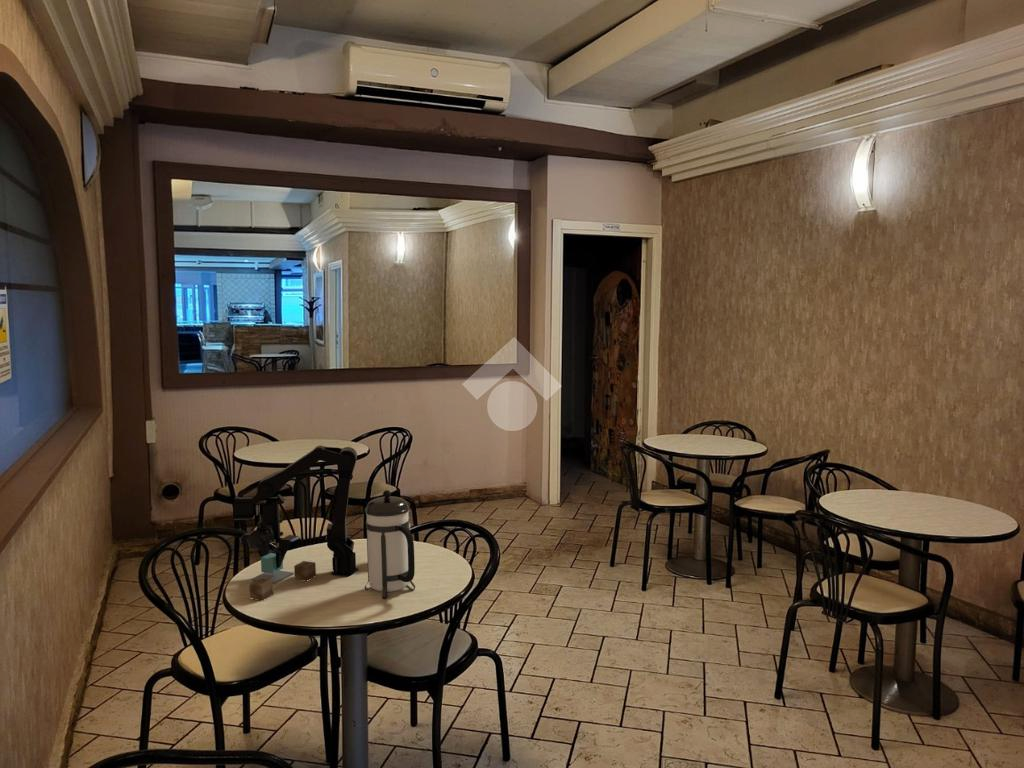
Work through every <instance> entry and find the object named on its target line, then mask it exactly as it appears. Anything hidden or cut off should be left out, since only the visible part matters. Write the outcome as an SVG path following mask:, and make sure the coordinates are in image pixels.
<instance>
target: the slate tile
mask: <svg viewBox="0 0 1024 768" xmlns="http://www.w3.org/2000/svg"><path fill="white" fill-rule="evenodd" d="M293 575H295V572H294V571H293V572H292V571H284V570H279V571H277V572H276V573H274V574H273V573H266V572H261V573H260V574H258V575H257V576H255V577H253V578H251V579H250V582H254V581H256V580H258V579H267V580H272V583H273V585H276V584H277V585H278V583H280V582H282V581H284V580H286V579H287V578H289V577H291V576H293Z"/></svg>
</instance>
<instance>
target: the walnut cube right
mask: <svg viewBox="0 0 1024 768" xmlns="http://www.w3.org/2000/svg"><path fill="white" fill-rule="evenodd" d="M316 566H317V565H316V562H313V561H307V560H303V561H300V562H298V563H296V564H295V565H293V567H294V571H293V572H294V580H295V581H300V580H305V581H304V582H308V581H307V580H309V579H311V578H312V579H314V578H315V577H314V576H316V577H317V572H316V571H317V568H316ZM313 577H314V578H313ZM312 579H311V580H312ZM309 581H310V580H309Z"/></svg>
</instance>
